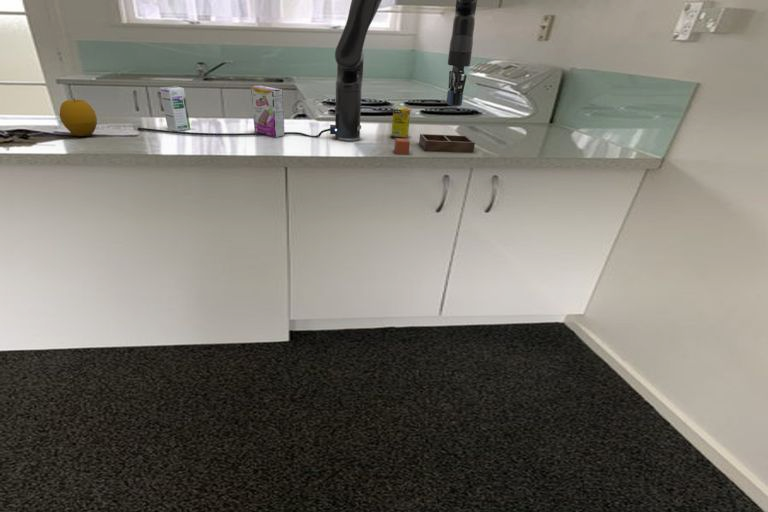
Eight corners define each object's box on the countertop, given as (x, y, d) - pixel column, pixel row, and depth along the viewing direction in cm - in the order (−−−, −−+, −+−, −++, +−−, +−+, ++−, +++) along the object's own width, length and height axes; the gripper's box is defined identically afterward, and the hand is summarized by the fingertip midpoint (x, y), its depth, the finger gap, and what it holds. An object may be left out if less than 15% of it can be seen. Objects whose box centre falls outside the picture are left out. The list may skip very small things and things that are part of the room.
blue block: (449, 105, 146) (450, 91, 144) (446, 103, 150) (447, 90, 148) (461, 105, 147) (463, 92, 145) (458, 103, 151) (459, 90, 148)
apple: (80, 141, 132) (70, 101, 127) (57, 137, 135) (46, 98, 129) (107, 135, 140) (98, 98, 135) (85, 131, 143) (76, 95, 137)
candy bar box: (253, 132, 157) (249, 86, 149) (263, 130, 161) (260, 85, 153) (275, 138, 152) (272, 89, 144) (285, 136, 156) (283, 88, 148)
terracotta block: (396, 154, 143) (397, 141, 141) (394, 150, 147) (395, 138, 145) (408, 154, 144) (409, 141, 141) (406, 151, 147) (407, 138, 145)
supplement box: (406, 139, 163) (408, 110, 158) (391, 137, 164) (393, 108, 159) (408, 136, 169) (410, 108, 164) (393, 134, 170) (395, 106, 164)
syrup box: (176, 131, 151) (169, 88, 144) (166, 128, 154) (159, 86, 147) (190, 129, 156) (184, 87, 149) (181, 126, 158) (174, 85, 151)
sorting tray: (424, 150, 149) (425, 140, 148) (419, 143, 159) (420, 133, 157) (473, 152, 152) (475, 142, 150) (464, 145, 161) (466, 135, 160)
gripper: (444, 48, 146) (438, 100, 154) (455, 50, 133) (448, 106, 142) (465, 49, 147) (458, 101, 155) (477, 51, 134) (469, 107, 142)
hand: (453, 103), depth 148 cm, fingers closed on blue block, 4 cm apart
